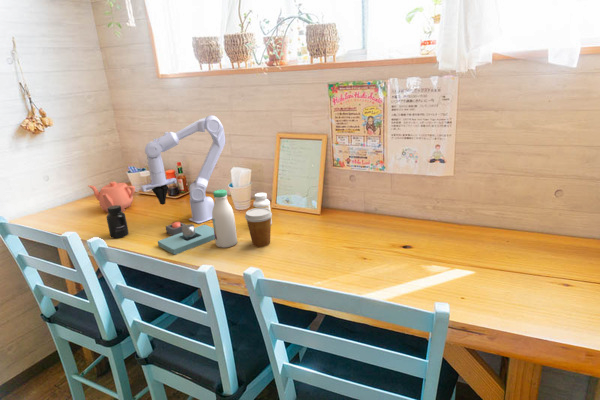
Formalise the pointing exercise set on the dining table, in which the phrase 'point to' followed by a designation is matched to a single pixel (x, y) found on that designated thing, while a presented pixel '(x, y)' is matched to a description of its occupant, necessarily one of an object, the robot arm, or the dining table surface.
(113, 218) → the supplement bottle
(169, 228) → the button housing
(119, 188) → the teapot
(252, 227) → the disposable coffee cup
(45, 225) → the dining table surface
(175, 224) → the button
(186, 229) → the cylinder
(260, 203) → the supplement bottle
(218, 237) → the milk bottle
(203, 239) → the plate
